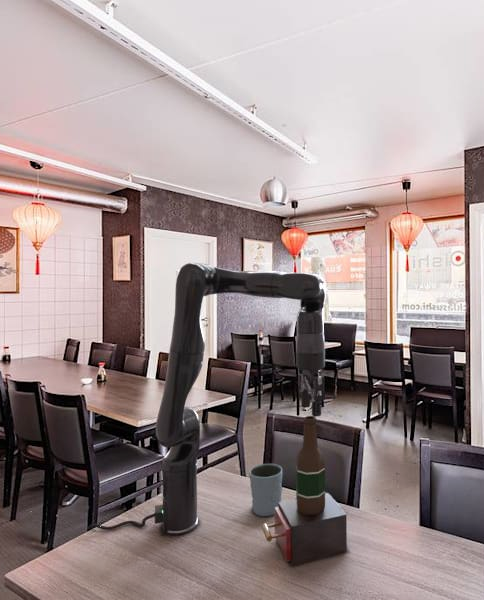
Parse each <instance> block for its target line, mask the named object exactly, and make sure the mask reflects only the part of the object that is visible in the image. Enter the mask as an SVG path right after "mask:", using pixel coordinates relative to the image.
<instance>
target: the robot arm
mask: <svg viewBox="0 0 484 600" xmlns="http://www.w3.org/2000/svg"><path fill="white" fill-rule="evenodd" d="M174 292H175V293H174V295H175V297H174V316H173V323H172V332H171V339H170V344H169V351H168V357H167V358H168V359H167V369H166V375H165V381H164V387H163V392H162V396H161V402H160V405H159V409H158V414H157V417H156V420H155V436H156V440H157V442H158V443H159V445H161V447H164V448H169V450H168V451H167V452H166V453H165V455H164V456H163V458H162V460H161V461H162V463H161V466H162V504H157V505H155V506H154V513H152V514H149V515H146V516H145V517H144V518H143V519H142V520H141V523H140V522H138V521H136V520H126V521H122V522H120V523H118V524H114V525H111V526H105V525H102V524H99V523H92V524H90V525H88V526H87V528H86V530H87V531H88V530H91V529H92V528H98V529H100V530H104V531H112V530H114V529H117V528H120V527H123V526H125V525H134V526H136V527H139V528H143V527H144V526H145V525H146V521H147V520H149V519H152V518H154V524H155V525H157V524H162V535H182V534H185V533H188V532H191V531H192V530H194V529H195V528H196V527H197V526H198V523H199V520H198V519H199V518H198V469H197V465H198V464H197V463H198V462H197V459H198V456H199V454H200V445H201V444H200V443H201V441H200V440H201V422H200V418H199V415H198V414H197V412H196V410H194V409H193V408H191V407H189V406H186V402H187V399H188V396H189V394H190V392H191V390H192V388H193V386H194V384H195V383H196V381H197V379H198V378H199V375H200V373H201V370H202V368H203V363H204V356H205V351H206V350H205V348H206V342H205V335H204V330H203V328H202V322H201V311H202V305H203V300H204V297H208V296H210V295H211V296H212V295H218V294H219V295H221V294H241V295H247V296H252V297H258V298H269V299H289V300H297V301H300V303H299V311H298V312H297V315H296V339H295V368H297V371H298V372H297V373H298V374H297V375H298V376H297V389H298V390H299V393H300V394H301V396H300V397H301V402H300V403H301V404H300V405H301V408H303V409H304V408H305V409H306V408H310V407H311V416H314V417H321V415H322V401H325V400H326V390H325V389H326V387H325V386H326V384H325V376H324V375H320V370H322V369H324V368H325V367H326V344H325V343H326V340H325V332H324V331H325V330H324V324H325V323H324V309H325V302H326V283H325V280H324V279H323V278H322V277H321V276H320V275H318V274H316V273H311V272H282V271H274V270H273V271H272V270H231V269H226V268H221V267H217V266H213V265H209V264H207V263H201V262H200V263H197V262H188V263H185V264H184V265H182V266H181V268H179V270H178V272H177V274H176V279H175V291H174ZM101 525H102V526H101ZM100 526H101V527H100Z"/></svg>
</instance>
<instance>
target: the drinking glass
mask: <svg viewBox="0 0 484 600" xmlns="http://www.w3.org/2000/svg"><path fill="white" fill-rule="evenodd" d="M249 481H250V490H251V491H250V492H251V498H252V500H251V501H252V502H251V503H252V510H253V513H254V514H255V515H257V516H260V517H270V516H275V507H278V502H282V494H283V493H282V492H283V486H282V483H283V468H282V466H280V465H279V464H276V463H261V464H257V465H255V466H252V468H251V469H249Z"/></svg>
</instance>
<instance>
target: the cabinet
mask: <svg viewBox="0 0 484 600" xmlns="http://www.w3.org/2000/svg"><path fill="white" fill-rule="evenodd" d="M278 507H279V508H280V510H281V511H282V513H283V515H284V516H285V518H286V520H287V522H288V524H289V525H290V527H291V561H289V563H290V565H291V566H296V565H299V564H303V563H307V562H308V563H309V562H311V561H316V560H320V559H323V558H324V559H325V558H328V557H331V556H335V555H339V554H343V553H347V551H348V545H347V544H348V543H347V538H348V535H347V533H348V532H347V527H348V525H347V513H346V512H345V511H344V510H343V508H342V507H341V505H339V504H338V502H337V501H336V500H335V499H334V497H333V496H332V495H331V494H330V493H329V492H325V509H324V510H323V511H321V512H320V513H319V514H314V515H306V514H303V513H300V512H299V511H298V508H297V500H296V498H292V499H287V500H283V501H282V500H281V502H278Z"/></svg>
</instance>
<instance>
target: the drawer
mask: <svg viewBox="0 0 484 600" xmlns="http://www.w3.org/2000/svg"><path fill="white" fill-rule="evenodd" d="M271 528H274V534H271V531H270V529H271ZM261 529H262V532H263V534H264V536H265V539H266V541H267V542H272V540H274V539H275V540H276V541H277V543H278V546H279V548H280V550H281V552H282V555H283V557H284V559H285V561H286V562H290V561H291V527H290V525H289V524H288V522H287V520H286V518H285V516H284V515H283V513H282V511H281V510H280V508H279V507H275V514H274V523H269V524H267V523H263V524H261Z"/></svg>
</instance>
